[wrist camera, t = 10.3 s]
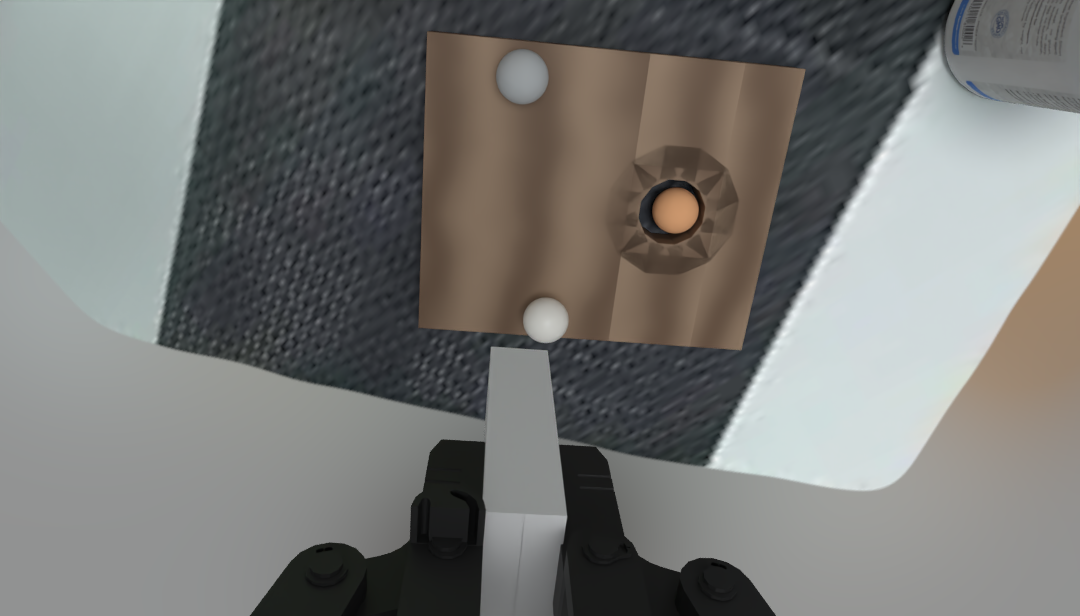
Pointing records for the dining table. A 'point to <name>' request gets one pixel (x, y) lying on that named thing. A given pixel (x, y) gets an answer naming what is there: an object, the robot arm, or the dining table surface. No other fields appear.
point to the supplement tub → (1017, 50)
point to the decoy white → (545, 320)
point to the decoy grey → (522, 76)
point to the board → (598, 190)
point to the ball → (675, 210)
